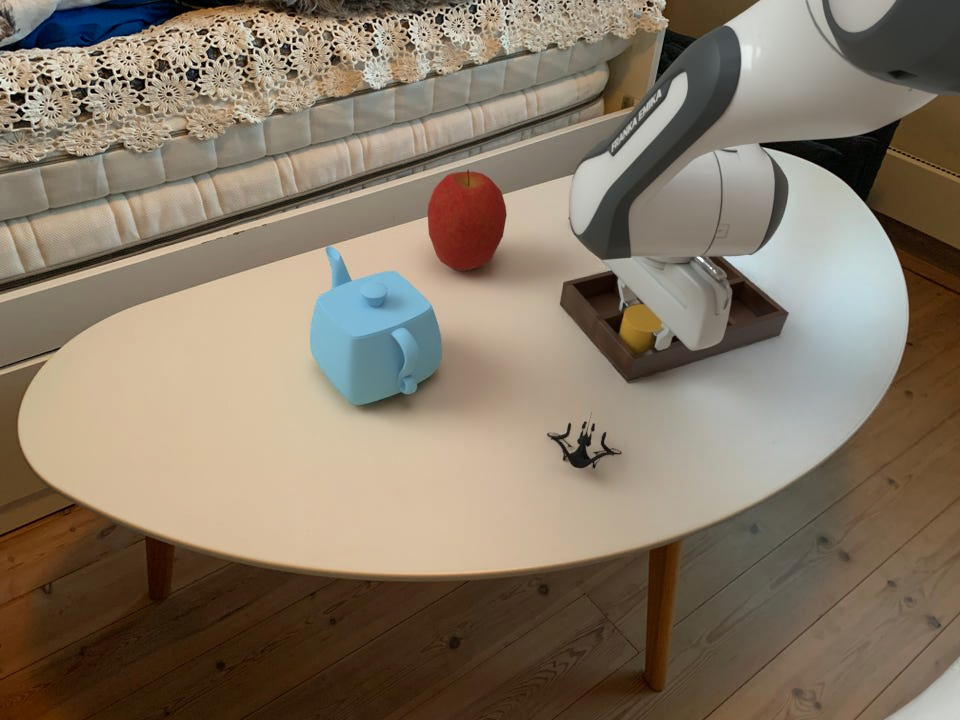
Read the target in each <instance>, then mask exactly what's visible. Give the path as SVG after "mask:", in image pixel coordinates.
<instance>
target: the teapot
mask: <svg viewBox="0 0 960 720" xmlns="http://www.w3.org/2000/svg"><path fill="white" fill-rule="evenodd" d="M325 254H326V257H327V260H328V261H329V266H330V271H331V287H330V288H331V289H329V290H327V291H325V292H324V293H322V294H321V295H319V296H317V298H316V301H315V304H314V307H313V312H312V316H311V322H310V329H309V347H310V351H311V355H312V357H313V359H314V361H315V362H316V364H317V366H318V367H319V369H320V370H321V372H322V373H323V374H324V376H325V377H326V378H327V380H328V382H330V383H331V385H332V386H333V387H334V388H335V389H336V390H337V391H338V393H339V394H340V395H341V396H342V397H343V398H344V399H345V400H346V401H347V402H348V403H349V404H351V405H354V406H360V405H361V406H362V405H368V404H371V403H374V402H377V401H380V400H383V399H386V398H390V397H392V396H396V395H398V394H400V393H402V394H404V395H412V394H414V393H415V392H416V391H417V389H418V384H419V383H421V382H423V381H425V380H426V379H428V378H429V377H431V376H432V375H433V374H434V373H436V372H437V370H438V368H439V366H440V365H441V362H442V359H443V342H442V334H441V330H440V325H439V322H438V319H437V316H436V313H435V310H434V308H433V305H432V304H431V302H430V301H429V300H428V299H427V298H426V296H424V295H423V294H422V293H421V292H420V291H419V289H417V288H416V287H415V286H414V285H413V284H412V283H411V282H410V281H408V280H407V279H406V277H404V276H403V275H401V274H400V273H399V272H398V271H395V270H387V271H381V272H376V273H373V274H369V275H365V276H362V277H359V278H356V279H354V280H352V278H351V275H350V273H349V271H348V269H347V266H346V264H345V261H344V259H343V258H342V255H341V253H340V252H339V251H338V250H337V249H336V248H335V247H333V246H332V245H328V246H325Z"/></svg>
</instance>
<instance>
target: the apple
mask: <svg viewBox="0 0 960 720" xmlns="http://www.w3.org/2000/svg"><path fill="white" fill-rule="evenodd" d="M503 195H504V194H503V192H502V190H501V189H500V188H499V187H498V186H497V185H496V183H495V182H494V181H493V179H491V178H490V177H489V176H487V175H486V174H485V173H481V172H476V171H469V169H468V168H467V170H466V171H458V172H452V173H448V174H446V176H444V178H443V179H441V180H440V181H439V182H438V184H437V185H436V186H435V187H434V188H433V191H432V193H431V195H430V199H429V201H428V205H427V226H428V235H429V238H430V241H431V244H432V246H433V249H434V252H435V255H436V257H437V258H438V259H439V261H440V263H442V264H444V265H445V266H446V267H449V268H451V269H454V270H456V271H461V272H463V271H470V270H473V269H476V268H479V267H482V266H483V265H486V264H487V263H489V262H491V260H492V258H493V257H494V255H495V253H496V251H497V249H498V248H499V245H500V243H501V241H502V239H503V238H504V233H505V227H506V222H507V216H508V214H507V206H506V202H505V199H504V196H503Z"/></svg>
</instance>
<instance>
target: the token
mask: <svg viewBox="0 0 960 720" xmlns="http://www.w3.org/2000/svg"><path fill="white" fill-rule="evenodd" d="M661 323H662V321H661V320H660V319H659V318H658V317H657V316H656V315H655V314H654V313H653V312H652V311H651V310H650V309H649V308H648V307H647V306H646V305H645V304H637V305H633V306H630V307H628V308H627V309H626V310H625V312H624V316H623V320H622V324H621V328H620V332H619V337H620V338H621V339H622V340H623V341H624V342H625V343H626V344H627V345H628V347H629V348H630V349H631V350H632V351H633V352H634V353H640V352H643V351H647V350H650V349H653V348H655V347H654V346H653V345H652V344H651V342H650V339H652V338H651V335H652V332H653V331H656V330H659V331H660V329H663V328H662V327H661Z"/></svg>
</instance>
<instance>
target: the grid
mask: <svg viewBox="0 0 960 720" xmlns="http://www.w3.org/2000/svg"><path fill="white" fill-rule="evenodd" d="M707 257H708V258H709V259H710V260H711V261H712V262H713V263H714V264H715V265H716V266H718V267H720V268H721V269H722V270H723V271H724V272H725V273H726V275H727V277H726V279H727V281H728V283H729V286H730V288H731V289H732V297H731V305H730V311H729V316H728V321H727V326H726V329H725V333H724V336H723V339H722V340H721V342H719V343H718V344H716V345H714V346H711V347H708V348H704V349H700V350H695V351H692V350H690V349H689V348H687V347H686V345H685V344H684V343H683V342H682V341H681V340H680V339H679V338H678V337H677V336H676V335H675V336H673V337H672V340H671V343H670V346H669V347H668V348H666V349H663V350H657V349H656V348H653V349H650V350H647V351H643V352H640V353H634V352H633V351H632V350H631V349H630V348H629V347H628V345H627V344H626V343H625V342H624V341H623V340H622V339H621V338H620V337H619V332H620V328H621V324H622V320H623V316H624V314H623V313H622V312H621V311H620V310H619V306H620V302H621V298H620V293H619V287H618V277H617V276H616V275H615V274H614V273H613V272H612V271H611V270H610V269H609V270H606V271H603V272H598V273H594V274H590V275H585V276H582V277H579V278H574V279H569V280H565V281H563V283H562V288H561V293H560V301H559V305H560V306H561V307H562V309H563V310H564V311H565V312H566V313H567V315H568V316H569V317H570V318H571V319H572V320H573V321H574V323H575V324H576V325H577V326H578V327H579V328H580V330H581V331H582V332H583V333H584V334H585V336H587V338H588V339H589V340H590V341H591V342H592V343H593V345H594V346H595V347H596V348H597V349H598V350H599V351H600V353H601V354H602V355H603V356H604V357H605V359H606V360H607V361H608V362H609V363H610V364H611V366H613V368H614V369H615V370H616V371H617V372H618V373H619V375H620V376H621V377H622V378H623V379H624V381H626V383H631V382H634V381H637V380H640V379H644V378H647V377H649V376H653V375H657V374H659V373H663V372H666V371H669V370H672V369H676V368H678V367H681V366H685V365H688V364H691V363H695V362H698V361H700V360H704V359H707V358H711V357H713V356H717V355H721V354H724V353H726V352H730V351H732V350H736V349H739V348H743V347H745V346H749V345H752V344H755V343H758V342H762V341H765V340H769V339H771V338H775V337H778V336H781V333H782V331H783V329H784V326H785V323H786V321H787V319H788V316H789V315H790V312H788V311H787V310H786V309H785V308H784V307H782V306H781V305H780V304H779V303H778V302H777V301H775V300H774V299H773V298H772V297H771V296H769V294H767V293H766V292H765V291H764V290H762V289H761V288H760V287H759V286H758V285H756V284H755V283H754V282H753V281H752V280H751V279H750V278H749V277H747V276H746V275H745V274H744V273H742V271H740V270H739V269H738V268H737V267H735V266H734V265H733V264H732V263H731V262H729V261H728V260H727V258H725V257H724V256H707ZM637 300H638V301H639V302H640V304H644V303H643V302H642V301H641V300H640V299H639V298H638V297H637Z"/></svg>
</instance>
